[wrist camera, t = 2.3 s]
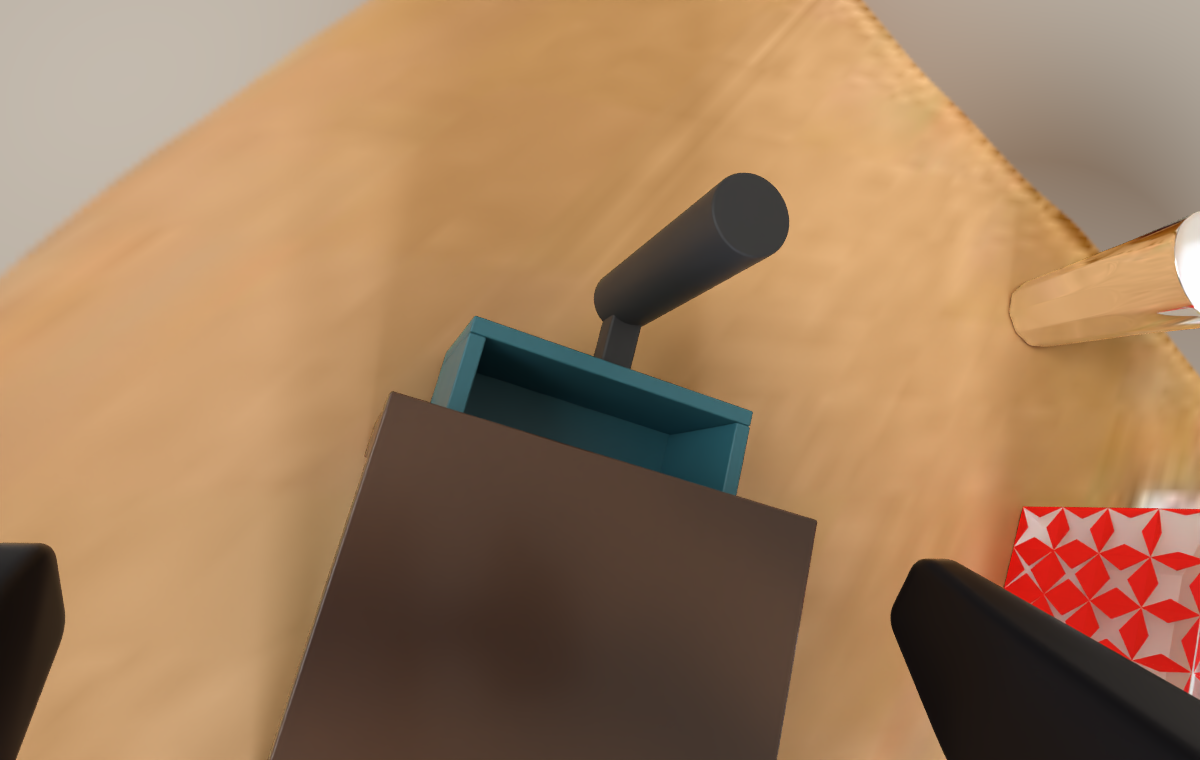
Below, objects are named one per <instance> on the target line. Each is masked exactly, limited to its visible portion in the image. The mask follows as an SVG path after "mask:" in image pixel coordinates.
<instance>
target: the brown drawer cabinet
mask: <svg viewBox="0 0 1200 760" xmlns="http://www.w3.org/2000/svg"><path fill="white" fill-rule="evenodd" d="M365 457H366V458H367V460H366V463H365V466H364V469H363V472H362V475H361V478H360V481H359V484H358V487H357V490H356V493H355V496H354V499H353V502H352V505H351V508H350V511H349V514H348V517H347V520H346V524H345V527H344V530H343V533H342V536H341V539H340V542H339V545H338V548H337V551H336V554H335V557H334V560H333V563H332V566H331V569H330V572H329V575H328V578H327V581H326V584H325V587H324V590H323V593H322V596H321V599H320V602H319V605H318V608H317V612H316V615H315V618H314V621H313V624H312V627H311V630H310V633H309V636H308V639H307V642H306V645H305V648H304V651H303V654H302V657H301V660H300V663H299V666H298V669H297V672H296V675H295V678H294V681H293V684H292V687H291V690H290V693H289V696H288V699H287V703H286V706H285V709H284V712H283V715H282V718H281V721H280V724H279V727H278V730H277V733H276V736H275V739H274V742H273V745H272V748H271V751H270V754H269V757H268V760H777V755H778V749H779V743H780V737H781V731H782V726H783V720H784V714H785V708H786V702H787V696H788V690H789V684H790V678H791V673H792V667H793V661H794V655H795V649H796V643H797V637H798V631H799V626H800V620H801V614H802V608H803V602H804V596H805V590H806V584H807V578H808V573H809V567H810V561H811V555H812V549H813V543H814V537H815V531H816V525H817V521H816V520H814V519H811V518H808V517H804V516H801V515H798V514H794V513H791V512H788V511H785V510H781V509H778V508H775V507H771V506H768V505H765V504H762V503H758V502H755V501H752V500H748V499H745V498H742V497H739V496H735V495H732V494H729V493H725V492H722V491H719V490H716V489H712V488H709V487H706V486H702V485H699V484H696V483H693V482H689V481H686V480H683V479H679V478H676V477H673V476H670V475H666V474H663V473H660V472H656V471H653V470H650V469H647V468H643V467H640V466H637V465H633V464H630V463H627V462H624V461H620V460H617V459H614V458H610V457H607V456H604V455H601V454H597V453H594V452H591V451H587V450H584V449H581V448H578V447H574V446H571V445H568V444H564V443H561V442H558V441H555V440H551V439H548V438H545V437H541V436H538V435H535V434H532V433H528V432H525V431H522V430H518V429H515V428H512V427H509V426H505V425H502V424H499V423H495V422H492V421H489V420H486V419H482V418H479V417H476V416H472V415H469V414H466V413H463V412H459V411H456V410H453V409H449V408H446V407H443V406H440V405H436V404H433V403H430V402H426V401H423V400H420V399H417V398H413V397H410V396H407V395H403V394H400V393H397V392H394V391H393V392H391V393H390V394H389V396H388V398H387V399H386V402H385V405H384V408H383V411H382V413H381V414H380V416H379V418H378V420H377V421H376V423H375V425H374V428H373V431H372V434H371V437H370V441H369V444H368V447H367V450H366V453H365Z"/></svg>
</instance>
